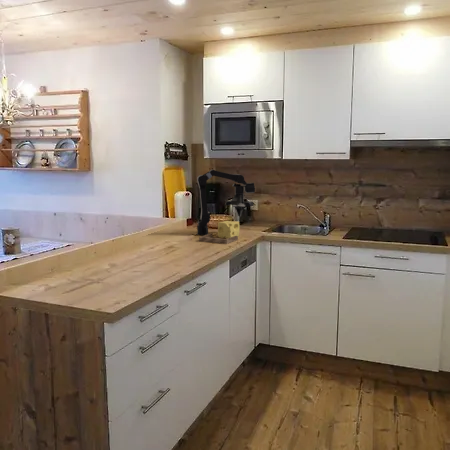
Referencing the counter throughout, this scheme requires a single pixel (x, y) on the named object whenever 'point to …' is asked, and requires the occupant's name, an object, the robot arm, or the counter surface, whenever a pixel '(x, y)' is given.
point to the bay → (217, 239)
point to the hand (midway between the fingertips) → (239, 216)
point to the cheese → (228, 229)
